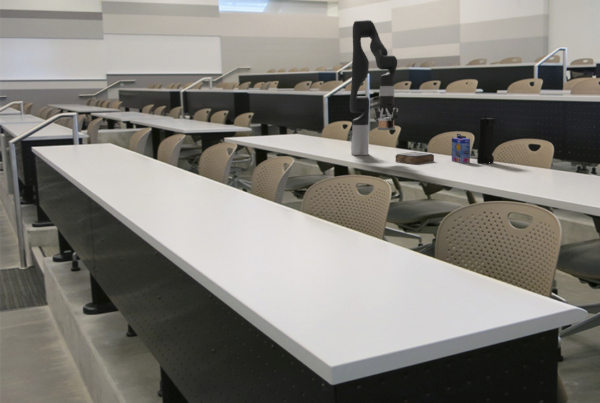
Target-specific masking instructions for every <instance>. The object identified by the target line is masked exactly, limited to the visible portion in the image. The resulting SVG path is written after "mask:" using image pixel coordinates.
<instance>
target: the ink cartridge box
mask: <svg viewBox="0 0 600 403" xmlns="http://www.w3.org/2000/svg"><path fill="white" fill-rule="evenodd" d="M456 136H457V137H452V138H451V162H456V163H460V164H464V163H465V164H467V163H470V162H471V140H470V138H467V137H463V135H462V134H459V133H456Z"/></svg>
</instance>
